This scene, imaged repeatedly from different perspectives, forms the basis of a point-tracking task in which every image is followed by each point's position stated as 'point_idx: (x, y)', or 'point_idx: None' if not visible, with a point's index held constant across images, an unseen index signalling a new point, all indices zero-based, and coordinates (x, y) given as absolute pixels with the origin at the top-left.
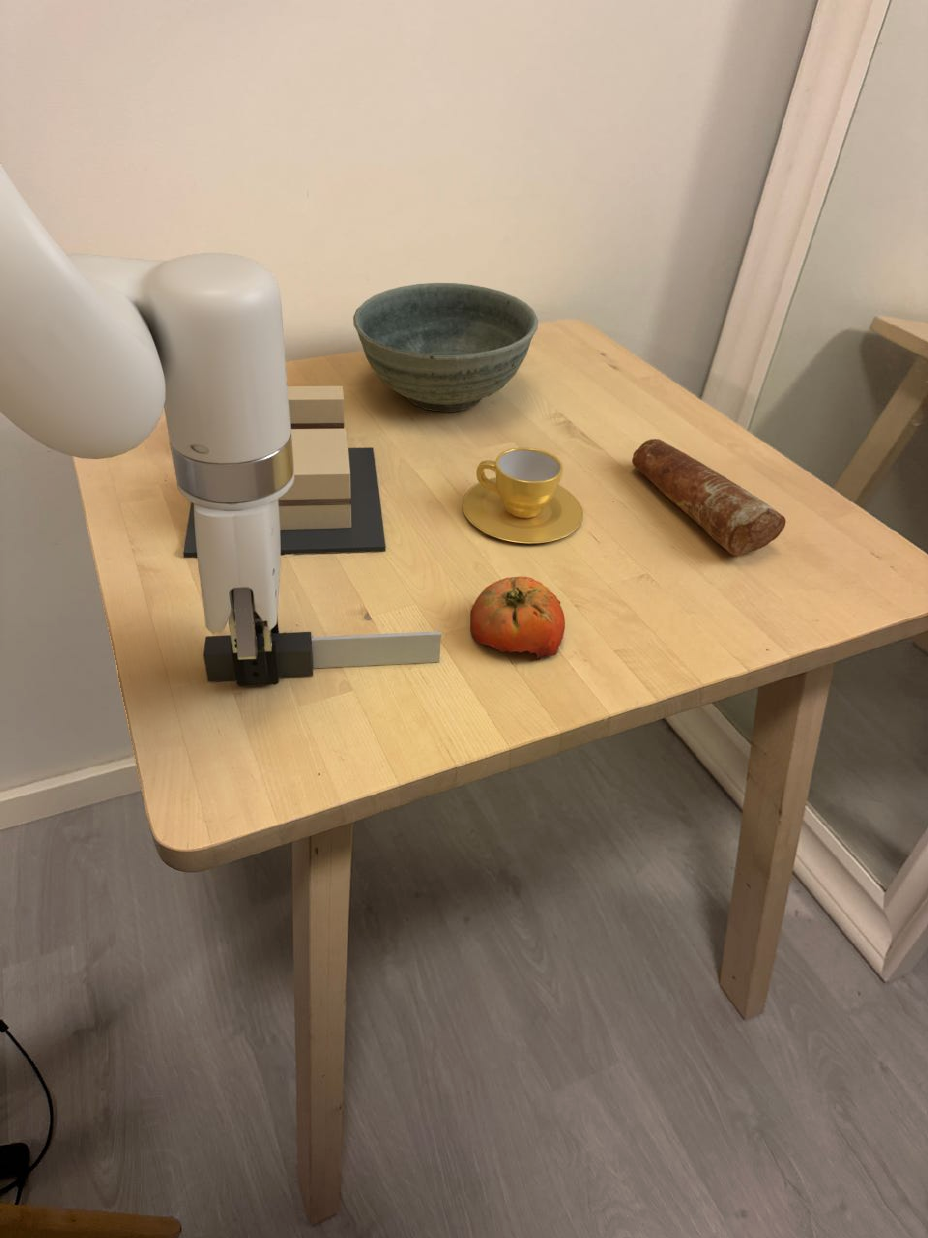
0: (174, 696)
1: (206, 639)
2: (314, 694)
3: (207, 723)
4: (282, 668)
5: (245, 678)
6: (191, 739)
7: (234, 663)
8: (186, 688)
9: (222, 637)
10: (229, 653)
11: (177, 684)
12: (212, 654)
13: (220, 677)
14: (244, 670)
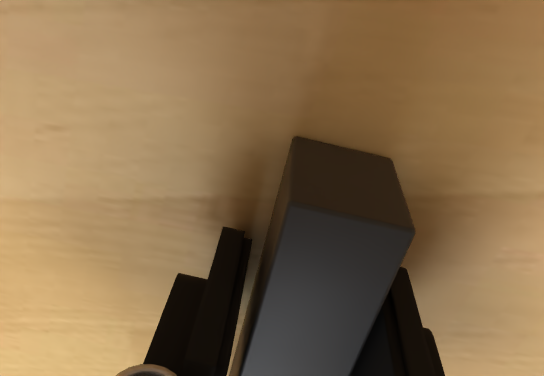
0: (256, 6)
1: (392, 231)
2: None
3: (95, 99)
4: (237, 355)
5: (174, 282)
6: (24, 35)
7: (203, 294)
8: (287, 58)
9: (378, 286)
10: (268, 290)
11: (321, 27)
12: (283, 235)
13: (281, 184)
14: (165, 310)
